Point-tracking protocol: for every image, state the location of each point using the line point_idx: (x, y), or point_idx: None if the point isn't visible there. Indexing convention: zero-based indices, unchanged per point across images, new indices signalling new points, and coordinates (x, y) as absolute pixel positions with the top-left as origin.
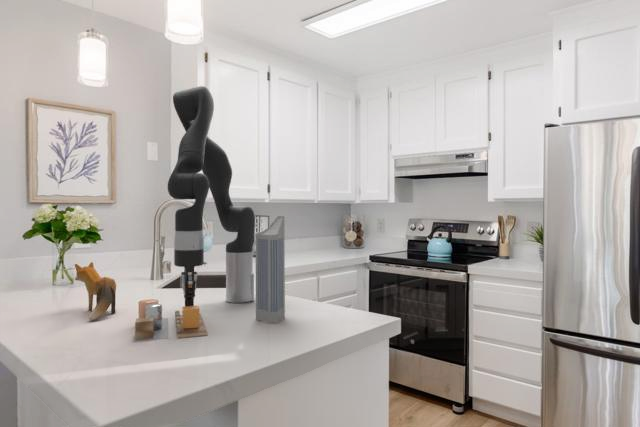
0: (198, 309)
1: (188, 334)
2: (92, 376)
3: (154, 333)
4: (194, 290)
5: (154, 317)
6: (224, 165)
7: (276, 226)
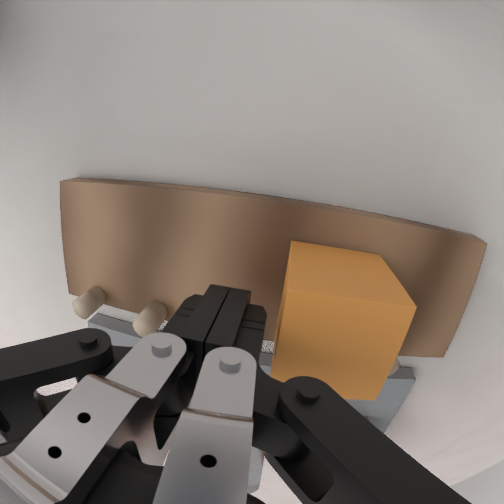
0: (411, 309)
1: (439, 318)
2: (476, 458)
3: None
4: (405, 456)
5: None
6: None
7: None
